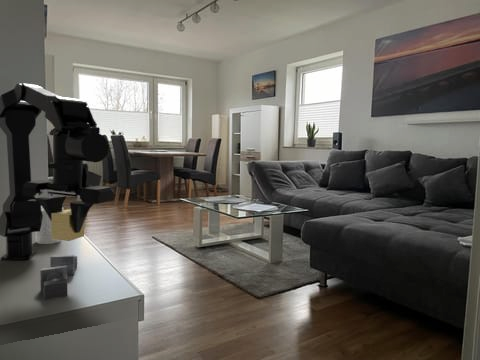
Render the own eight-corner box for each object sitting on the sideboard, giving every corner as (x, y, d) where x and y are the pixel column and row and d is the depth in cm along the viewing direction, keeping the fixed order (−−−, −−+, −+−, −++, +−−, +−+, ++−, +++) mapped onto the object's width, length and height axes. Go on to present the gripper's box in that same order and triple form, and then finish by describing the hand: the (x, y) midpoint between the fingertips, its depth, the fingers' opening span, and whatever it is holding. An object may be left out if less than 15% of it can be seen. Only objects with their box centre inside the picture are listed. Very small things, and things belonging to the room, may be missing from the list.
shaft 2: (57, 267, 86) (57, 249, 86) (78, 267, 87) (78, 249, 87) (50, 276, 81) (50, 256, 81) (73, 275, 82) (73, 256, 82)
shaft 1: (40, 289, 74) (40, 268, 73) (66, 285, 76) (66, 265, 76) (42, 299, 69) (41, 277, 69) (69, 295, 72) (69, 273, 71)
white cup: (56, 236, 113) (56, 204, 112) (68, 241, 108) (68, 208, 107) (29, 241, 107) (28, 207, 106) (40, 246, 102) (40, 211, 101)
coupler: (51, 238, 76) (51, 212, 76) (67, 233, 80) (67, 209, 80) (69, 241, 75) (69, 215, 74) (84, 236, 79) (84, 211, 79)
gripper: (129, 160, 81) (127, 228, 83) (60, 154, 86) (59, 218, 88) (97, 162, 70) (95, 240, 72) (20, 155, 75) (20, 229, 77)
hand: (68, 231), depth 78 cm, fingers closed on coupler, 4 cm apart
